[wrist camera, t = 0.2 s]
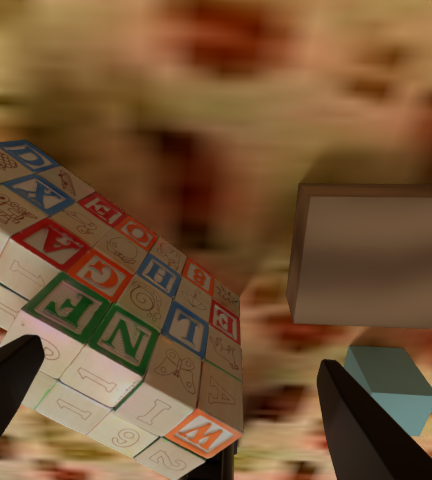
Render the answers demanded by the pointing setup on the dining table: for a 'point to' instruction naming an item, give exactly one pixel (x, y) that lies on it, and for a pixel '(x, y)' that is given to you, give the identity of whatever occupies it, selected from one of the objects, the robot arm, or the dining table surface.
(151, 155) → the dining table surface
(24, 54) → the dining table surface
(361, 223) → the walnut block
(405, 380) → the teal cube
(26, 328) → the stack of blocks
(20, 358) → the robot arm
